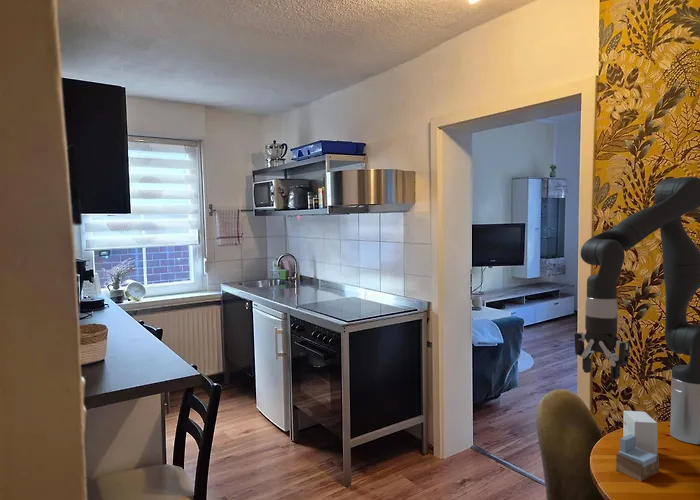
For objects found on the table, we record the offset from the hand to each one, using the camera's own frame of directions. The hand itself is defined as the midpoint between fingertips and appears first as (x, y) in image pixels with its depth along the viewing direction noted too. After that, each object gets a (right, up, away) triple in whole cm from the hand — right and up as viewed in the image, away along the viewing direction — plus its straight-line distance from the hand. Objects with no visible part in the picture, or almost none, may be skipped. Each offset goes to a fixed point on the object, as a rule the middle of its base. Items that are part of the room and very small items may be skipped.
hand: (600, 375), depth 125 cm
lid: (+5, -19, -8) cm, 21 cm away
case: (+5, -22, -8) cm, 24 cm away
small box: (+11, -22, +1) cm, 24 cm away
